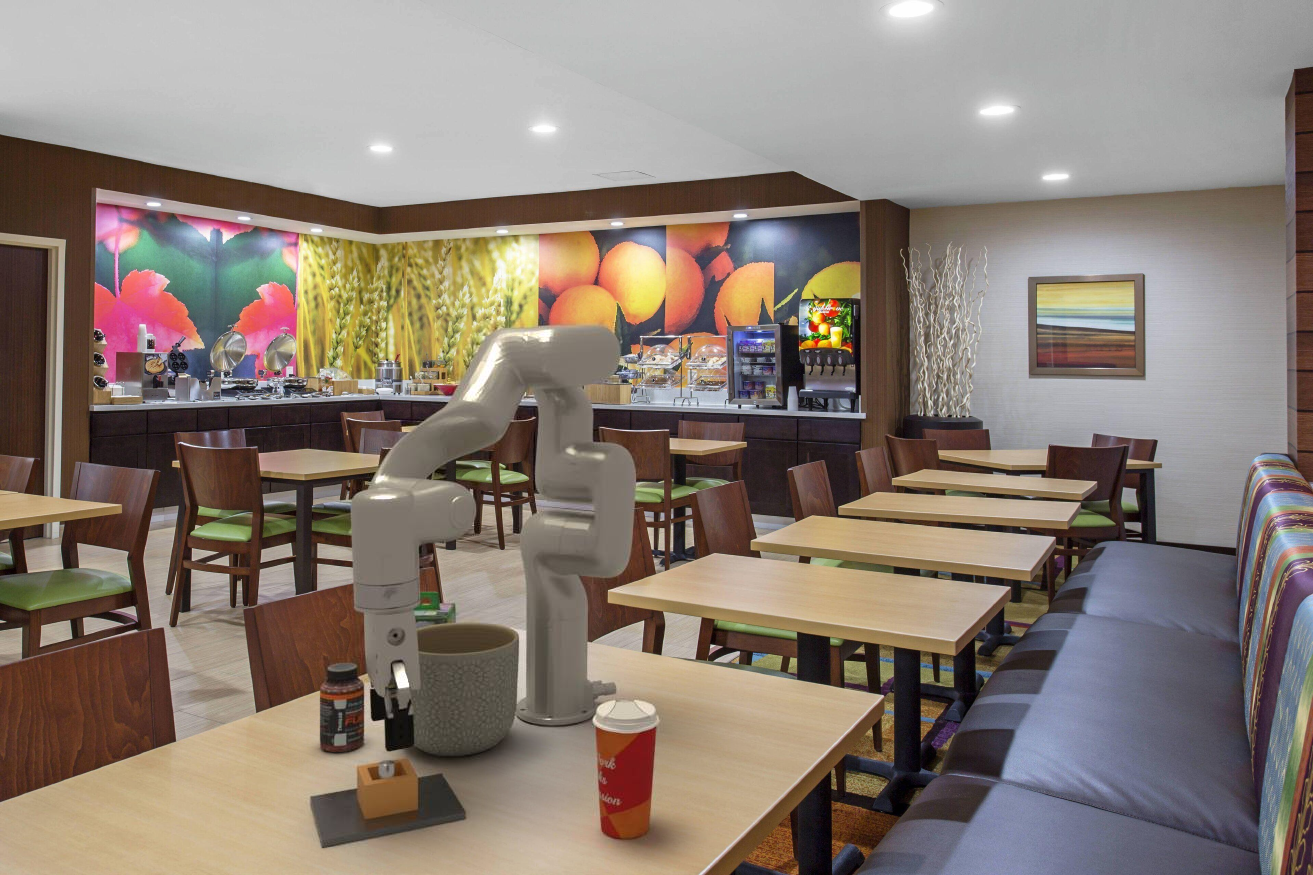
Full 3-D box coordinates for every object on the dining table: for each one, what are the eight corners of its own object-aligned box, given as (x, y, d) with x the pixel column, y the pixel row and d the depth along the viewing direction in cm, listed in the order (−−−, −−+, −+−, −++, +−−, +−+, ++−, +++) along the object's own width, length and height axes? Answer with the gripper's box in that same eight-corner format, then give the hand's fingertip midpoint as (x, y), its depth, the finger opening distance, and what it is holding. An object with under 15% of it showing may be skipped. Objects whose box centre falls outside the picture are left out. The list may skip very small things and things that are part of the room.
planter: (464, 777, 120) (464, 661, 119) (370, 751, 128) (370, 642, 127) (542, 735, 134) (542, 631, 134) (453, 714, 143) (453, 616, 142)
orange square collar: (407, 789, 114) (407, 757, 114) (417, 809, 109) (417, 776, 109) (357, 798, 112) (357, 765, 111) (365, 819, 106) (365, 785, 106)
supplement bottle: (350, 755, 126) (350, 674, 126) (311, 751, 127) (310, 671, 127) (372, 739, 132) (371, 661, 132) (334, 735, 133) (333, 658, 133)
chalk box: (457, 665, 168) (457, 584, 167) (448, 681, 159) (448, 596, 158) (406, 665, 167) (405, 584, 166) (394, 681, 158) (393, 596, 157)
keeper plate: (441, 779, 119) (441, 735, 119) (465, 818, 108) (465, 770, 108) (310, 802, 112) (309, 756, 112) (322, 847, 101) (321, 795, 101)
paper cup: (591, 813, 110) (592, 698, 109) (655, 811, 111) (656, 696, 110) (592, 845, 102) (593, 721, 102) (661, 843, 103) (662, 720, 102)
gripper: (435, 606, 103) (440, 754, 104) (404, 574, 118) (408, 703, 120) (366, 615, 100) (371, 768, 101) (343, 580, 115) (348, 713, 117)
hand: (391, 732), depth 110 cm, fingers open, 9 cm apart
